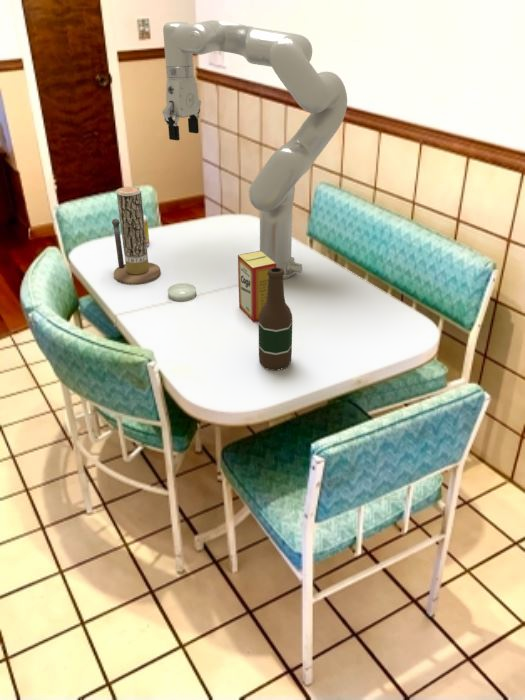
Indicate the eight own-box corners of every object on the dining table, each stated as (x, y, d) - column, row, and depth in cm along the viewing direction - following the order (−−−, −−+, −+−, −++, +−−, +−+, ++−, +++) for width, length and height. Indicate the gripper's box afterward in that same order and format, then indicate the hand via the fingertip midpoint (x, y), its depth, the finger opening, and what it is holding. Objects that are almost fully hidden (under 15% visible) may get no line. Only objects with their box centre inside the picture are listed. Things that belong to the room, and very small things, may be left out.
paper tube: (124, 268, 195) (113, 188, 182) (145, 264, 198) (137, 185, 184) (129, 277, 190) (119, 195, 177) (151, 273, 192) (143, 192, 179)
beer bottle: (290, 353, 155) (292, 262, 143) (292, 370, 148) (295, 276, 136) (258, 353, 155) (257, 262, 142) (259, 371, 148) (258, 277, 136)
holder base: (169, 270, 197) (165, 218, 188) (141, 288, 186) (135, 234, 177) (133, 262, 202) (127, 211, 194) (104, 278, 192) (96, 225, 183)
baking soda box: (275, 317, 171) (276, 262, 162) (253, 322, 168) (253, 266, 160) (260, 302, 178) (260, 249, 170) (239, 307, 176) (237, 253, 167)
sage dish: (201, 292, 184) (201, 286, 183) (185, 303, 178) (185, 297, 177) (178, 286, 187) (178, 281, 186) (162, 297, 181) (162, 291, 180)
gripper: (172, 77, 167) (177, 144, 176) (208, 69, 180) (211, 131, 189) (149, 75, 171) (155, 141, 180) (186, 67, 184) (190, 128, 192)
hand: (184, 136), depth 184 cm, fingers open, 9 cm apart
